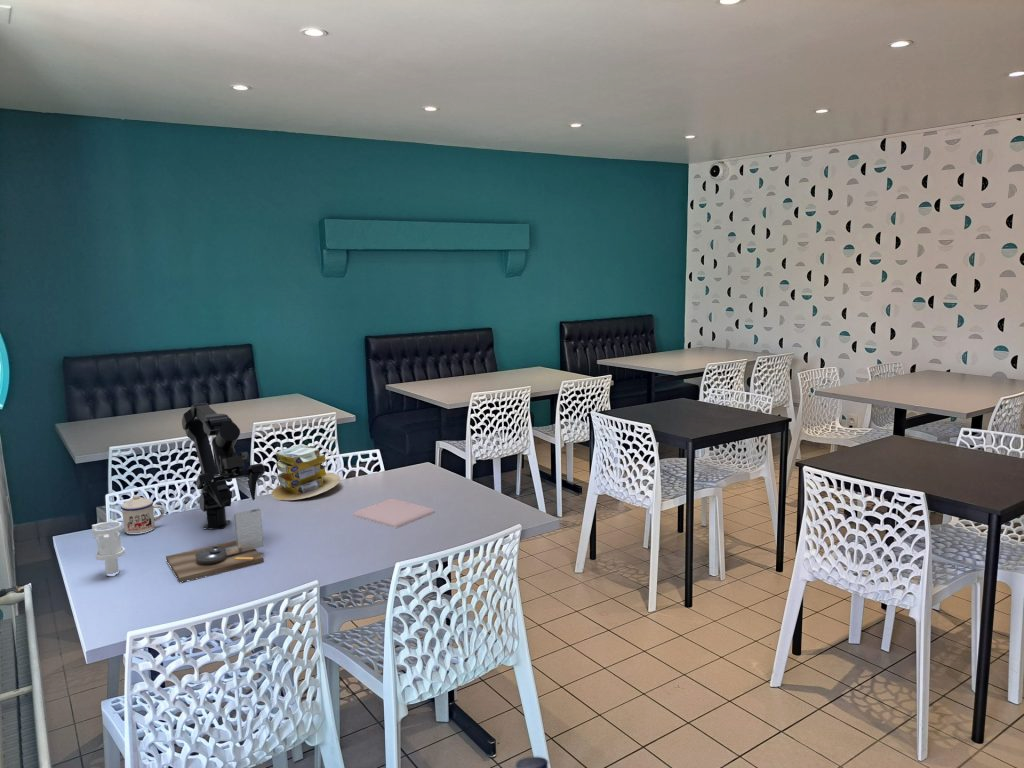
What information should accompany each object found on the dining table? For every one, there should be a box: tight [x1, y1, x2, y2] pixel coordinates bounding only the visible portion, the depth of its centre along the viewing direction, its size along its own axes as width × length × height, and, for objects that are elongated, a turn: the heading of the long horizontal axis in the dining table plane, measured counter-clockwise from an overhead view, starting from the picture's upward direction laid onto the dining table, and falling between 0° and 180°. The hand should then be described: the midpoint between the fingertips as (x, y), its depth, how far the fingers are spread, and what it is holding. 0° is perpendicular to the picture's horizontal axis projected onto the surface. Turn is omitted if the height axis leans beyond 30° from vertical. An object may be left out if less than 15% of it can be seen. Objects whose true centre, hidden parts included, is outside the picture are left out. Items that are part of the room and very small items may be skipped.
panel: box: [352, 497, 436, 529], centre depth 240 cm, size 35×33×2 cm
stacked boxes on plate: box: [270, 443, 341, 501], centre depth 270 cm, size 25×25×17 cm
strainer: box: [91, 520, 126, 574], centre depth 200 cm, size 7×7×15 cm
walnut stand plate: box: [165, 539, 265, 583], centre depth 208 cm, size 18×22×2 cm
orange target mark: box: [234, 557, 254, 560], centre depth 206 cm, size 5×1×1 cm, turn 87°
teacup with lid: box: [120, 494, 165, 533], centre depth 233 cm, size 12×9×12 cm
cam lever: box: [195, 508, 264, 564], centre depth 207 cm, size 18×8×11 cm, turn 125°
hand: (238, 503), depth 214 cm, fingers open, 9 cm apart
